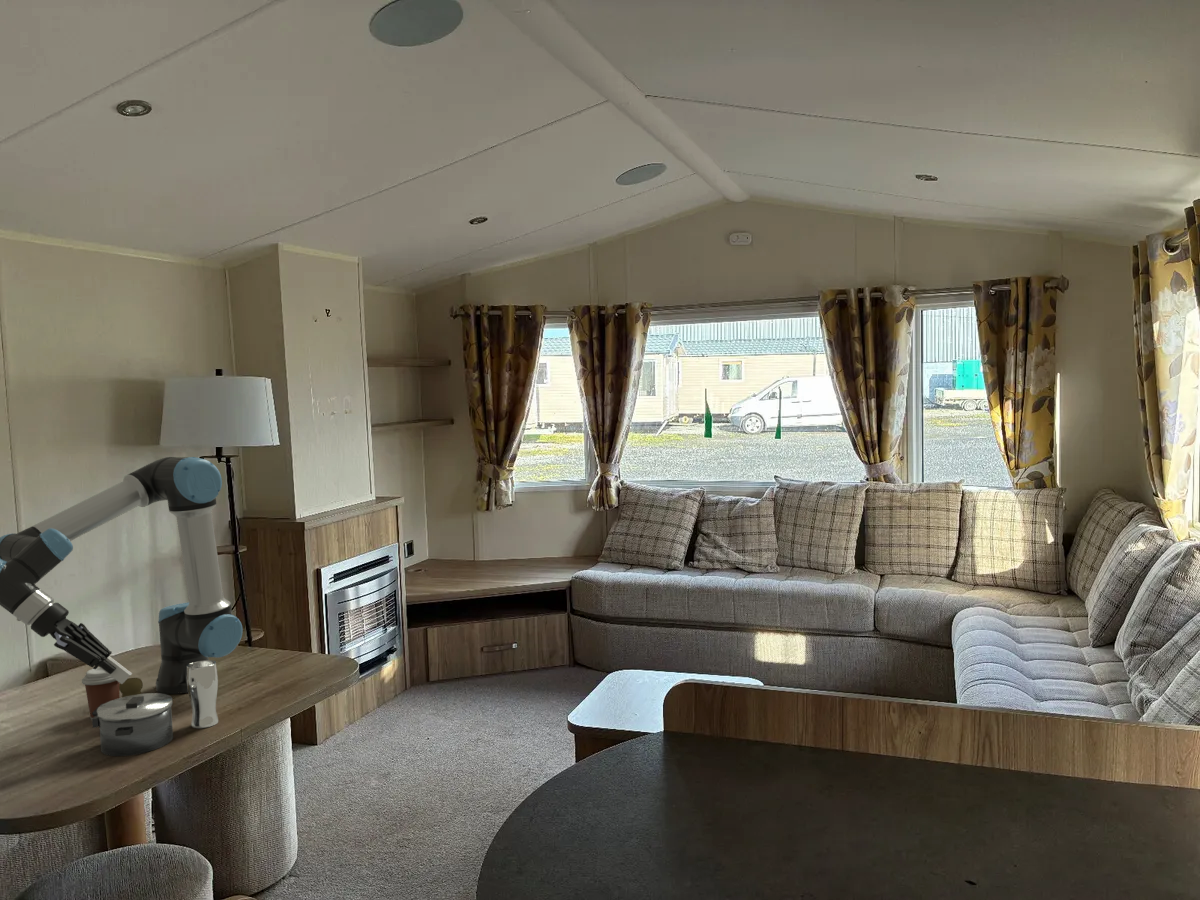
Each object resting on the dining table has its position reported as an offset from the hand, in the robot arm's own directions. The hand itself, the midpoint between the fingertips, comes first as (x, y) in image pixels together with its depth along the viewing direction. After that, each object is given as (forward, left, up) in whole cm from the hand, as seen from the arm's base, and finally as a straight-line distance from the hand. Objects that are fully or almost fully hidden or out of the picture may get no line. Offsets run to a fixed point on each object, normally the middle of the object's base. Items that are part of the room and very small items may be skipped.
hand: (127, 678), depth 209 cm
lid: (-1, +1, -8) cm, 8 cm away
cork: (-12, -11, -16) cm, 23 cm away
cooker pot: (-1, +1, -16) cm, 16 cm away
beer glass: (-15, +8, -16) cm, 23 cm away
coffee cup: (-14, -22, -16) cm, 30 cm away
